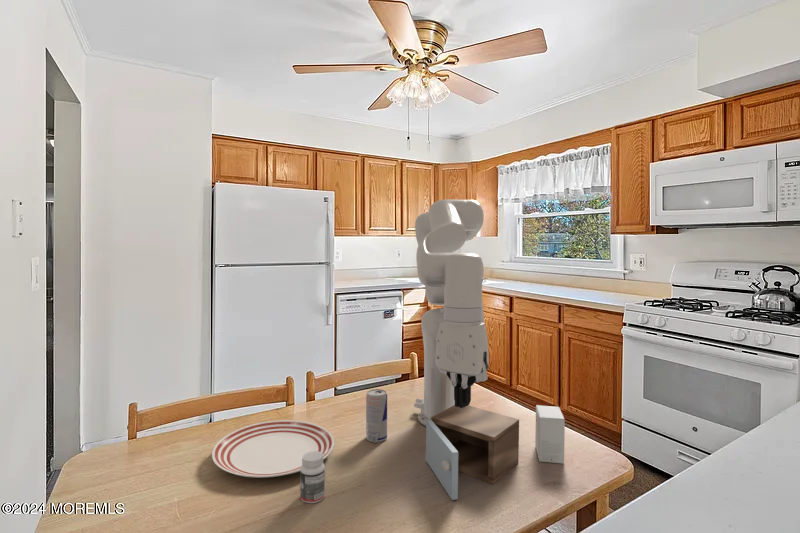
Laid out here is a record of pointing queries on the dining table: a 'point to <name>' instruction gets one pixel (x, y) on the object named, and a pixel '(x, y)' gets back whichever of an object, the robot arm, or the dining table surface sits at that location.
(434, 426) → the side door
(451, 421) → the cabinet
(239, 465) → the dinner plate
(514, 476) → the dining table surface
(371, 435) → the energy drink
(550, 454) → the small box
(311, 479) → the pill bottle
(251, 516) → the dining table surface
